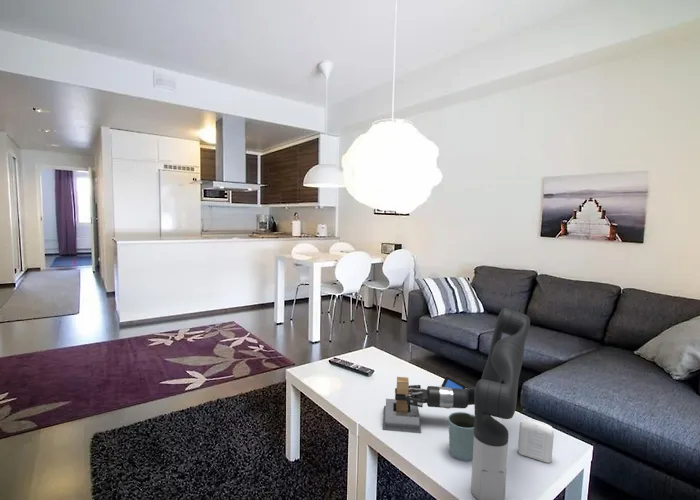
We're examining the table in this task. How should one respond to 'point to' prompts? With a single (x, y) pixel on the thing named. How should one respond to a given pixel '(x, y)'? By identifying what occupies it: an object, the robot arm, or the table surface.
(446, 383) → the handheld game console
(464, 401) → the robot arm
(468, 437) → the teal cup
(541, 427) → the photo printer
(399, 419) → the metal socket
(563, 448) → the table surface
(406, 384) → the oak pin
